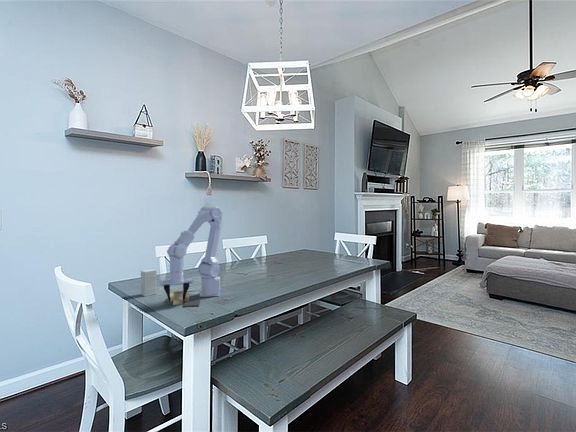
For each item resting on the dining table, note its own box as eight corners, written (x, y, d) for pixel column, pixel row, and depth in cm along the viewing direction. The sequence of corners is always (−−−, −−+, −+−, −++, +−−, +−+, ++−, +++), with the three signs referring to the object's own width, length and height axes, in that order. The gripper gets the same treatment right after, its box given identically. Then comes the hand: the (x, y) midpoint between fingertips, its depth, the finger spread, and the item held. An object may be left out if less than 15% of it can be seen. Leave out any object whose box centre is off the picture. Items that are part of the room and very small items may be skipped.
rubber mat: (200, 301, 136) (200, 300, 136) (198, 306, 129) (198, 304, 129) (186, 302, 134) (186, 300, 134) (183, 306, 128) (183, 305, 128)
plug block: (182, 301, 135) (182, 290, 135) (182, 304, 131) (182, 293, 131) (173, 302, 134) (173, 291, 134) (173, 305, 130) (173, 294, 130)
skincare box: (152, 292, 149) (152, 268, 148) (156, 293, 146) (156, 270, 145) (140, 294, 144) (140, 270, 143) (144, 296, 141) (144, 272, 141)
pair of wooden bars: (189, 297, 142) (189, 292, 142) (187, 301, 136) (187, 296, 136) (170, 297, 140) (170, 293, 140) (167, 301, 134) (167, 297, 134)
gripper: (192, 267, 138) (192, 296, 139) (159, 270, 132) (159, 299, 133) (194, 271, 132) (194, 300, 132) (159, 273, 126) (159, 304, 126)
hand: (176, 300), depth 132 cm, fingers open, 5 cm apart
